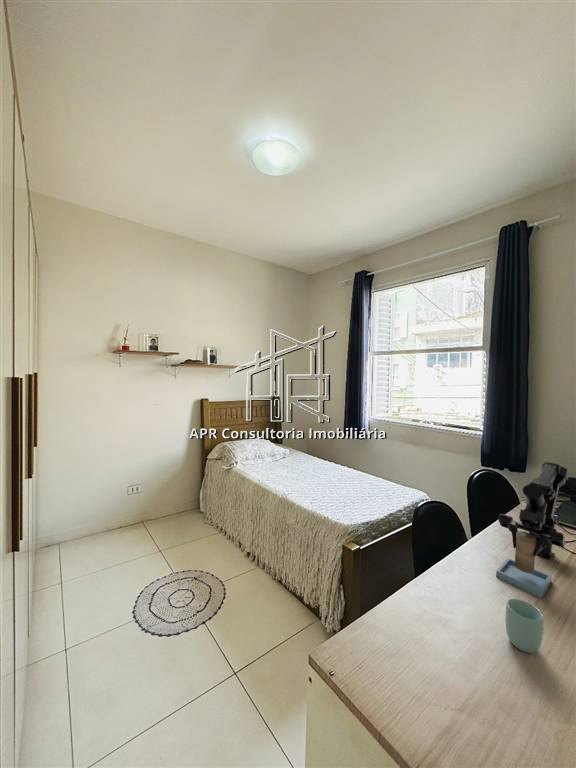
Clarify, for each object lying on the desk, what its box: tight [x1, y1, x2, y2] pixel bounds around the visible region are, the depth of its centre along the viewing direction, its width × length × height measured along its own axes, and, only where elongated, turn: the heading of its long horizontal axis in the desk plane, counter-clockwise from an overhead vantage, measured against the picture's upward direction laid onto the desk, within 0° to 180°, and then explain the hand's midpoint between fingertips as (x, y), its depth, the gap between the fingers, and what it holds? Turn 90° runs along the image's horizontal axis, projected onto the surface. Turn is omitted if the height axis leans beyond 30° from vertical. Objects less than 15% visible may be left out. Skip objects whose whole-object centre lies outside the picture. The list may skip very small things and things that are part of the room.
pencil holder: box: [514, 530, 536, 573], centre depth 108 cm, size 6×6×12 cm
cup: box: [505, 598, 545, 654], centre depth 81 cm, size 8×8×10 cm
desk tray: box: [495, 557, 553, 599], centre depth 109 cm, size 13×13×2 cm
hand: (524, 551), depth 108 cm, fingers closed on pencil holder, 5 cm apart
